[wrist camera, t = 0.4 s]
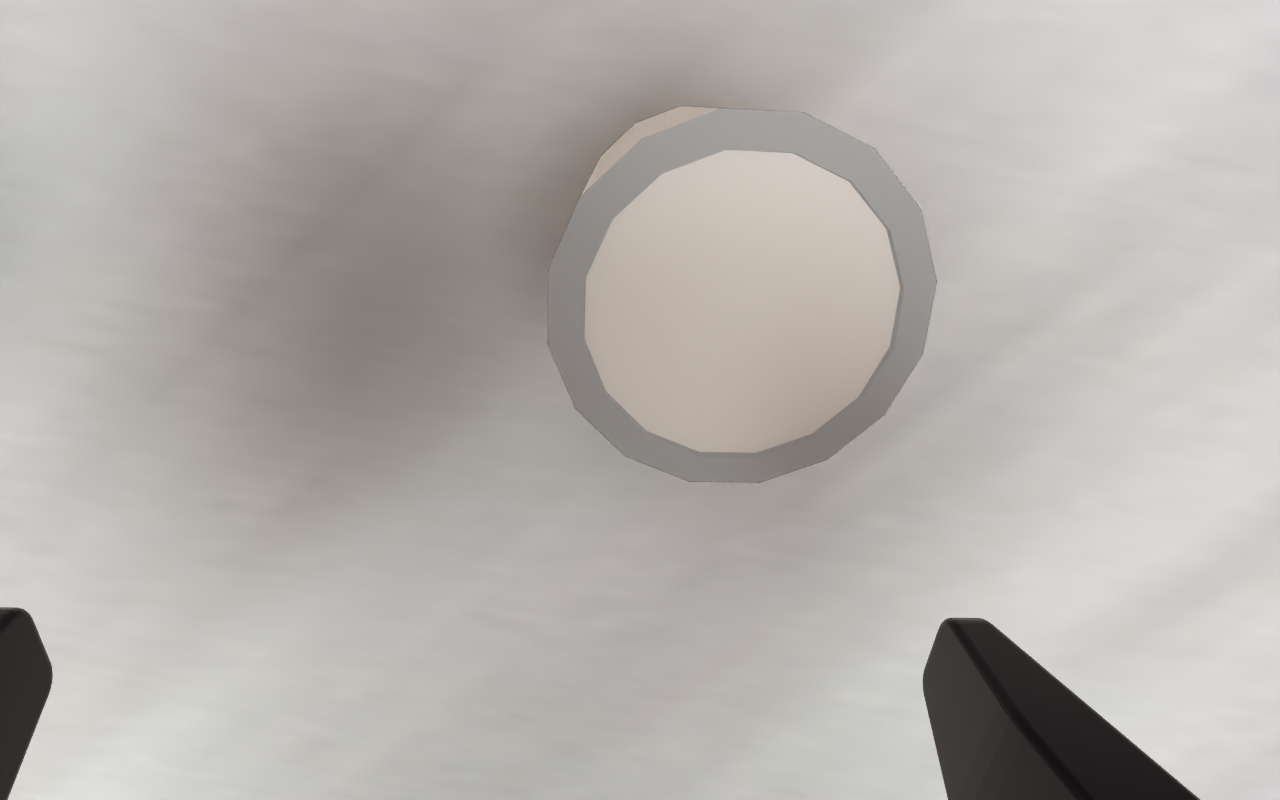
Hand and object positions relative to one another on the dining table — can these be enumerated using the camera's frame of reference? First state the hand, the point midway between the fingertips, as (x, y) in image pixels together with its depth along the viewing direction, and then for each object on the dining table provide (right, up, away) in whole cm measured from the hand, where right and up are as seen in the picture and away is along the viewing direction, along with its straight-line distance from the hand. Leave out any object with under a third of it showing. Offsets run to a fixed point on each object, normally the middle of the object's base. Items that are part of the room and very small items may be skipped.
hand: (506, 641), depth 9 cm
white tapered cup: (+3, +7, +13) cm, 15 cm away
